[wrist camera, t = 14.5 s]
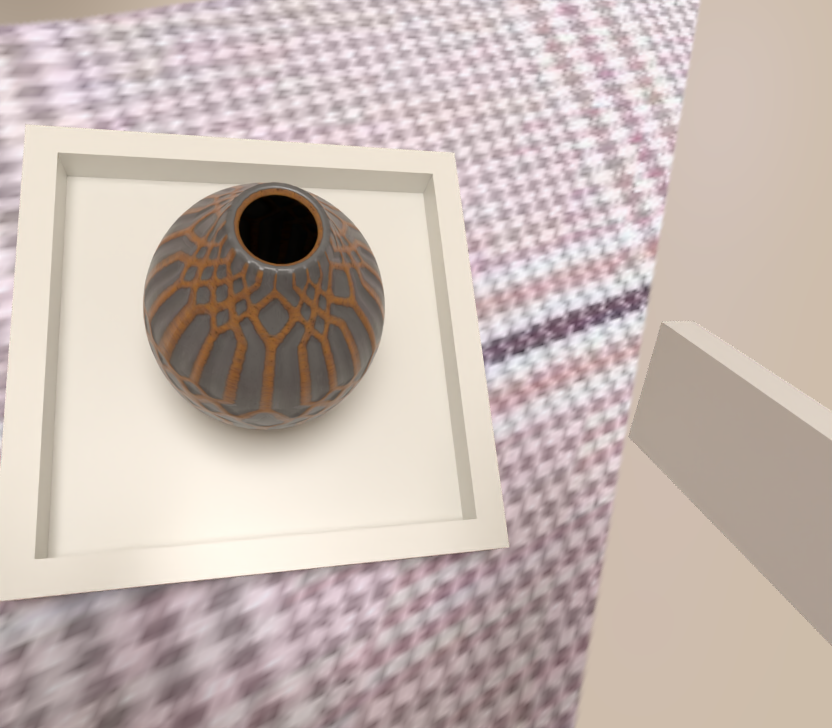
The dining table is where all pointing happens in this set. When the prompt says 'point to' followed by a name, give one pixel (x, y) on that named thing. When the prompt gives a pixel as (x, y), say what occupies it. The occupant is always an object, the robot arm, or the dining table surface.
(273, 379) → the vase
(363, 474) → the holder tray
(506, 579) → the dining table surface
